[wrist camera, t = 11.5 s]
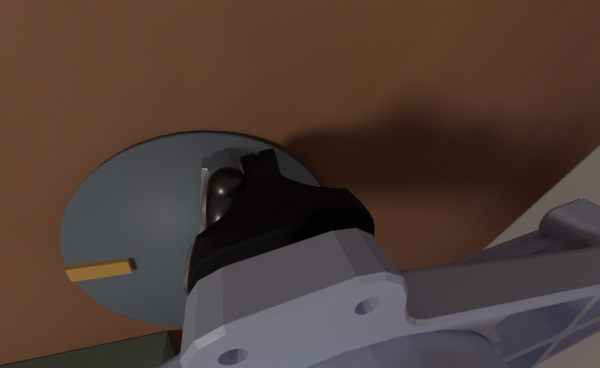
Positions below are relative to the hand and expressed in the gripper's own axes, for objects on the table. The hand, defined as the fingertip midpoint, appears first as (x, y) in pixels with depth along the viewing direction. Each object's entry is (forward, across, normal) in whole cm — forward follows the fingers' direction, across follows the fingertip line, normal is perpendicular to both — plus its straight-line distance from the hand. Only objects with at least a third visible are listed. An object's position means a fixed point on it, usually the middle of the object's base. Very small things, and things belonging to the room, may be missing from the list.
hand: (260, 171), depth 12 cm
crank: (+2, +3, +3) cm, 5 cm away
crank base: (+3, +4, +6) cm, 8 cm away
